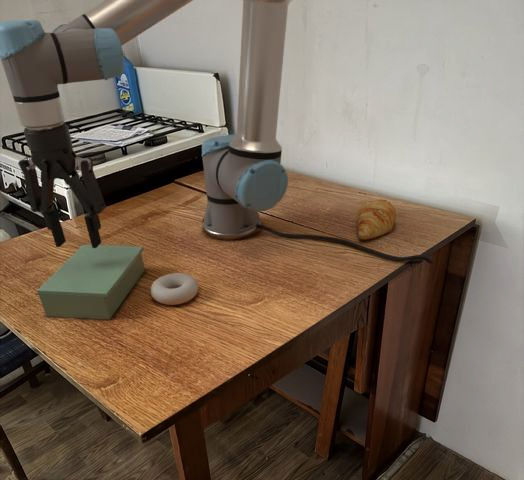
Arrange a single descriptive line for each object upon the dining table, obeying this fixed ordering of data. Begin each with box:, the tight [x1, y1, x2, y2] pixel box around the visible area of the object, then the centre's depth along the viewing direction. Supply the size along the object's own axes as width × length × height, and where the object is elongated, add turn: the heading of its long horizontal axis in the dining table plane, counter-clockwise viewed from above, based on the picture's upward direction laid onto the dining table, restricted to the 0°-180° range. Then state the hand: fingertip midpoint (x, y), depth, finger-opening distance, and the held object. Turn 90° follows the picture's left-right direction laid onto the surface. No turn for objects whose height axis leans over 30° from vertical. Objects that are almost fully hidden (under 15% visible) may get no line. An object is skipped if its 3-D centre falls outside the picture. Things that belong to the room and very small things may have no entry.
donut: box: [150, 272, 199, 306], centre depth 105 cm, size 10×4×10 cm
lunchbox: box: [38, 253, 146, 321], centre depth 107 cm, size 14×21×5 cm, turn 171°
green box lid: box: [36, 244, 145, 297], centre depth 105 cm, size 14×21×1 cm
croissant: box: [355, 199, 397, 240], centre depth 127 cm, size 21×10×8 cm, turn 153°
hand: (78, 244), depth 102 cm, fingers open, 7 cm apart
